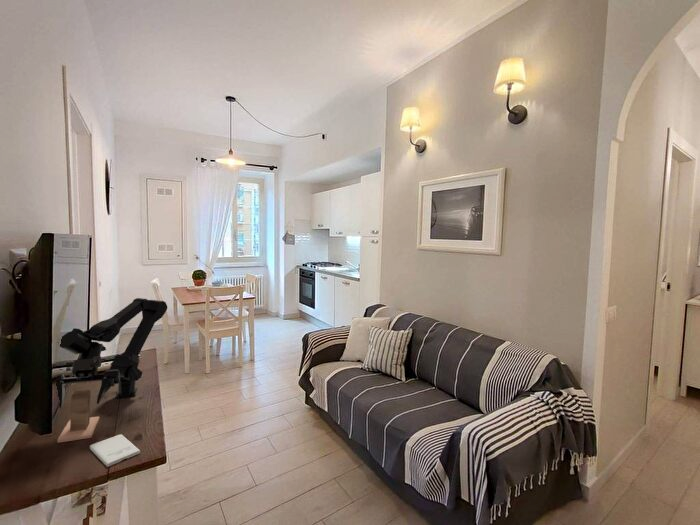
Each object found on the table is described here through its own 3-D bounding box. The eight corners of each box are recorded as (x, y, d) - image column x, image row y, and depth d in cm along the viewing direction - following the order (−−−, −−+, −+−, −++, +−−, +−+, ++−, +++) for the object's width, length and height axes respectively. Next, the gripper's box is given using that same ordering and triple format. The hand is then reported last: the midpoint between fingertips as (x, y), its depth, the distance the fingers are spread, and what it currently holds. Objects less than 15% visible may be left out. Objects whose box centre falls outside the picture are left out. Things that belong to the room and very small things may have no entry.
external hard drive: (121, 438, 105) (140, 455, 98) (89, 450, 98) (107, 469, 91) (121, 433, 105) (140, 449, 98) (89, 445, 98) (107, 463, 91)
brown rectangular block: (73, 425, 108) (75, 391, 107) (89, 423, 109) (90, 389, 109) (70, 431, 104) (71, 396, 104) (86, 429, 106) (87, 395, 105)
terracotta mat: (69, 422, 110) (69, 420, 110) (99, 418, 114) (99, 416, 114) (57, 442, 100) (57, 440, 100) (90, 437, 103) (90, 435, 103)
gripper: (47, 349, 105) (33, 400, 96) (120, 345, 113) (113, 391, 104) (55, 365, 112) (42, 414, 103) (122, 360, 121) (116, 405, 111)
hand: (79, 405), depth 105 cm, fingers open, 9 cm apart
